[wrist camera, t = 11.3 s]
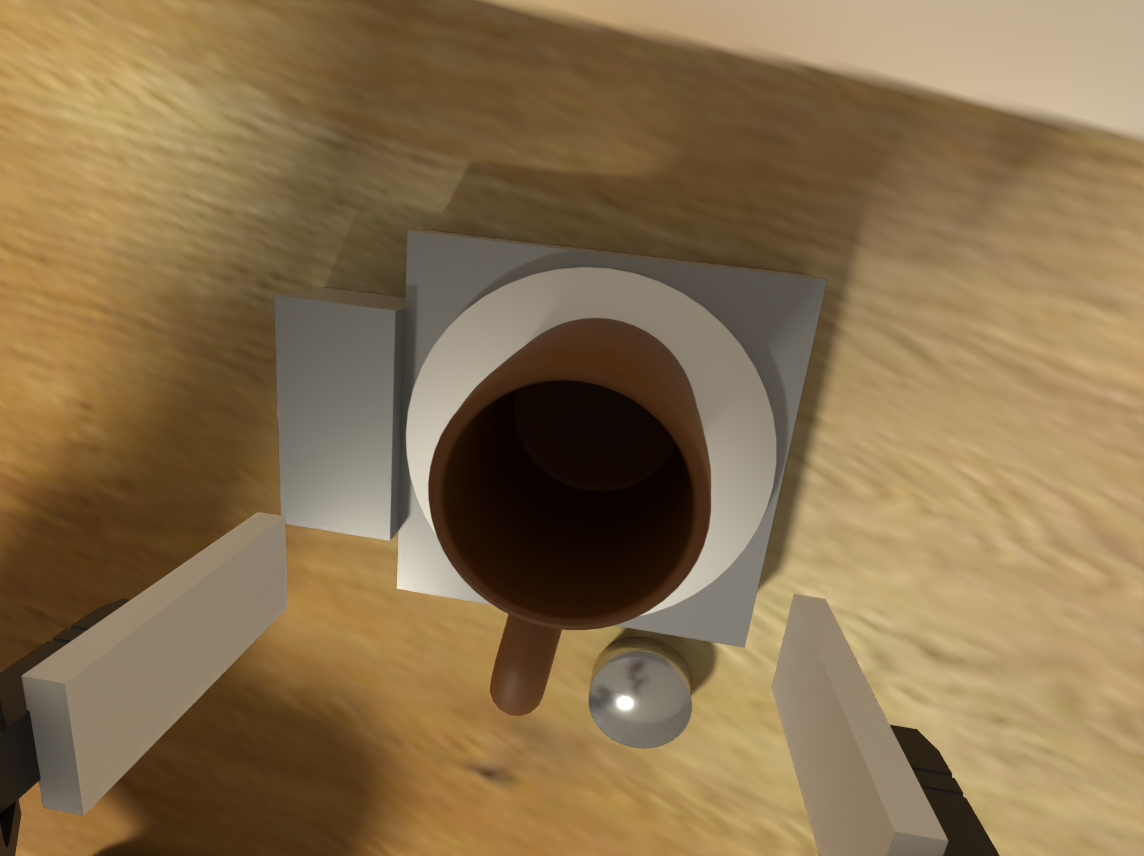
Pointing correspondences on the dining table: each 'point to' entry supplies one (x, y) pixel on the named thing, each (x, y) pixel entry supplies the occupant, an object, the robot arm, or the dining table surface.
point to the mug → (572, 491)
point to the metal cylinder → (640, 693)
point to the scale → (493, 334)
